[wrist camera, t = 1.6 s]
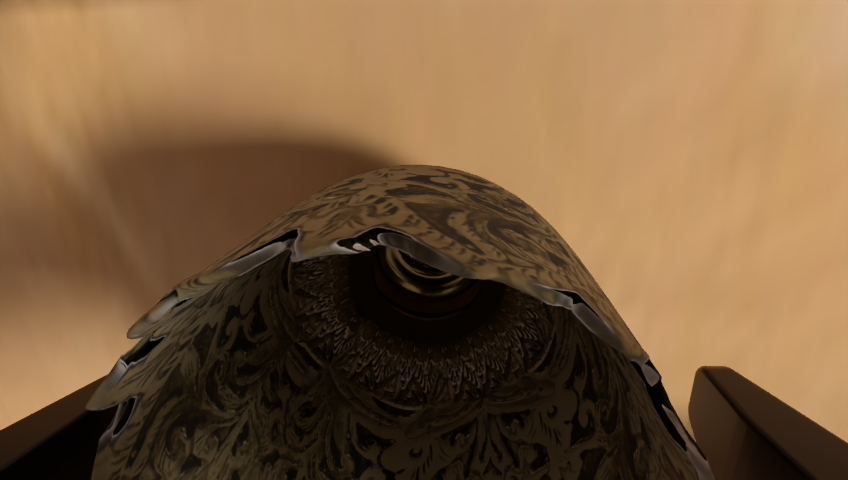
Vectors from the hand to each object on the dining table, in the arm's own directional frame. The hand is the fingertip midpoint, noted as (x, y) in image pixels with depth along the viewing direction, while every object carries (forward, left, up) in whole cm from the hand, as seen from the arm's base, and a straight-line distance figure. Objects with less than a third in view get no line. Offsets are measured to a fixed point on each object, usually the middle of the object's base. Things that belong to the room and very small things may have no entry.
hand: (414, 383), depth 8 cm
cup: (0, 0, -6) cm, 6 cm away
